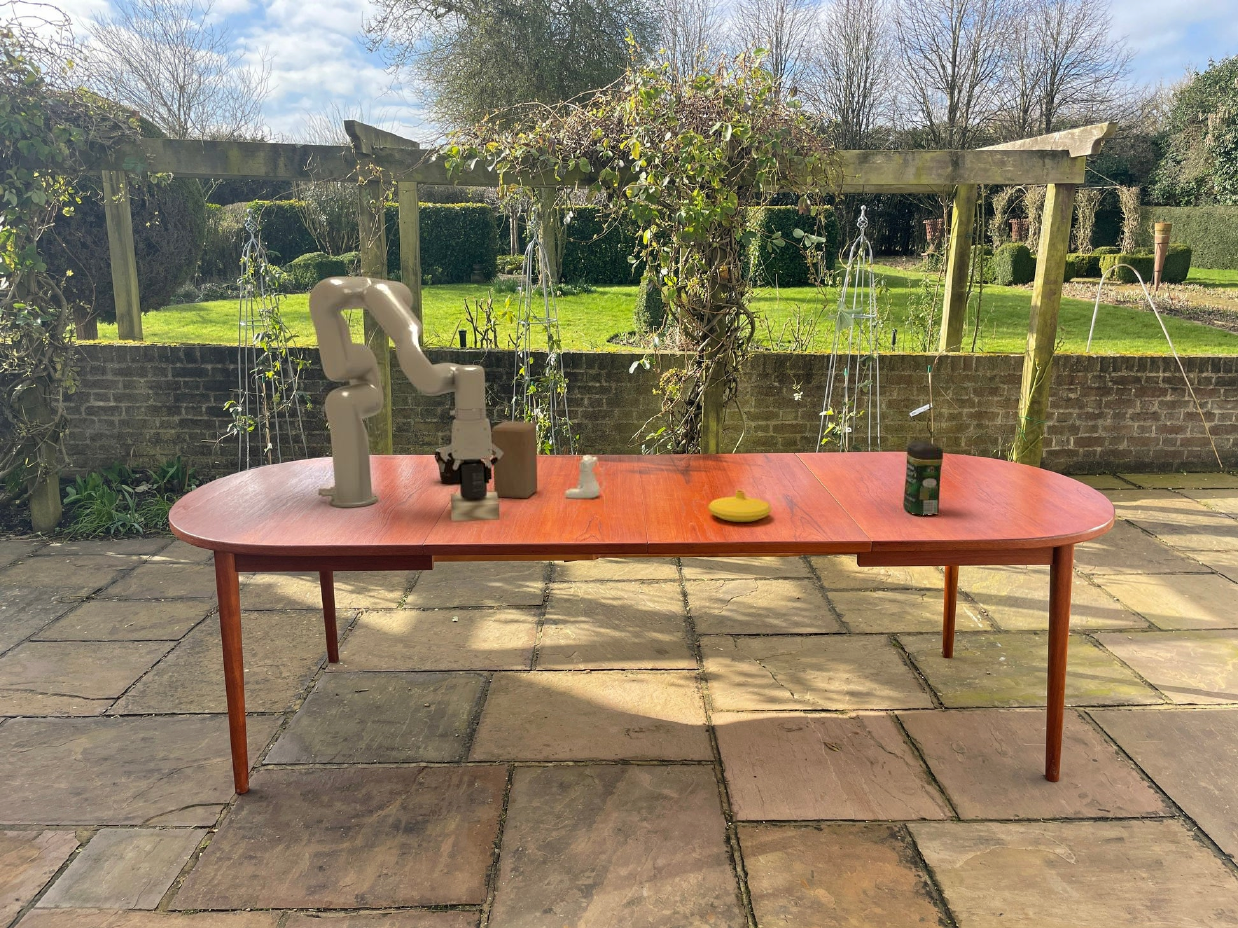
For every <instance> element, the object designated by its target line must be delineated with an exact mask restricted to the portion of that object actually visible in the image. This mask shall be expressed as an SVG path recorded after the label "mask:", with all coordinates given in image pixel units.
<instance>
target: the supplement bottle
mask: <svg viewBox="0 0 1238 928" xmlns="http://www.w3.org/2000/svg"><path fill="white" fill-rule="evenodd" d="M459 470H460V484H459V494H460V495H461V497H462V498H464V499H480V498H484V497H486V495H487V492H488V488H487V487H488V485H487V483H486V462H485V461H484V460H483V459H480V460H463V461H462V462H461V463H460V465H459Z"/></svg>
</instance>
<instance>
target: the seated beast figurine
mask: <svg viewBox="0 0 1238 928" xmlns="http://www.w3.org/2000/svg"><path fill="white" fill-rule="evenodd" d="M597 461H598V457H597V456H594V457H593V456H592V455H590V454H586V455H583V456H582V459H581V460H580V462H579V465H578V468H579V472H580V473H579V477H578V482H577V486H576V487H575V488H569V489H567V490H565V498H566V499H579V500H581V499H582V500H583V499H585V500H589V499H595V498H597V497H599V494H600V491H601V486H600V484H599V483H598V481H597V479H596V478H597V477H596V475H595V474H596V473H595V471H594V470H593V469H594V467H595V466H596V462H597Z"/></svg>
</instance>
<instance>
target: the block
mask: <svg viewBox="0 0 1238 928" xmlns="http://www.w3.org/2000/svg"><path fill="white" fill-rule="evenodd" d="M491 435H492V443H494V444H495V445H496V446H497V447H498V448H500V449H501V450H502V451H503V453H504V454H503V455H502V456H501V458H500V459H499V460H498V461H497V462H496V463H495V464H494V465H493V483H494V484H493V489H494V490H493V492H497V496H498V498H507V499H508V498H510V499H511V498H512V499H528V498H529V497H531V496H532V495H534V493H535V492H537V490H538V464H537V463H538V460H537V459H538V456H537V454H538V453H537V425H536V423H534V422H532V421H531V422H530V421H503V422H500V423H499V424H497V425H495V426H493V427H492V428H491ZM496 454H497V453H496V452H495V451H494V450H493V449H492V456H493V457H494V456H495V455H496ZM493 457H492V458H493Z"/></svg>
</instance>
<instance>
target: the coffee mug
mask: <svg viewBox="0 0 1238 928" xmlns="http://www.w3.org/2000/svg"><path fill="white" fill-rule="evenodd" d="M447 447H448V446H443V447H439V448H437V449H435V452H434V459H435V461H436V463H437V465H438V471H439V472H438V473H439V478H440V482H441V484H442V485H444V486H445V485H446V486H454V485H456V486H458V485H457V481H454V469H453V468H452V467H451V466H450V465H449V464H448V463H447V462H446V461H445V460H444V459H443V458H442V457H441V453H442V452H443V451H444V450H445V449H446V448H447ZM448 456H449V458H451V459H452V460H453V461H455V459H454V458H453V456H452V451H451V452H450V453H449V454H448ZM462 461H463V460H461V462H462ZM461 462H460V463H461ZM459 465H460V464H459Z"/></svg>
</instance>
